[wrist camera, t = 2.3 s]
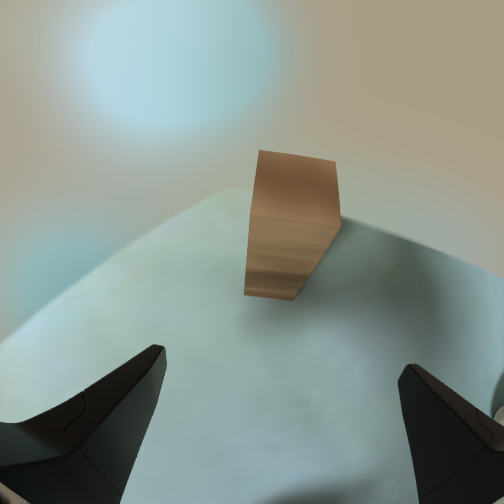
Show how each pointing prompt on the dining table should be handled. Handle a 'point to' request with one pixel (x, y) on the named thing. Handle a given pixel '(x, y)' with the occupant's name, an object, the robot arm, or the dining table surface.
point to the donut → (500, 416)
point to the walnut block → (289, 222)
